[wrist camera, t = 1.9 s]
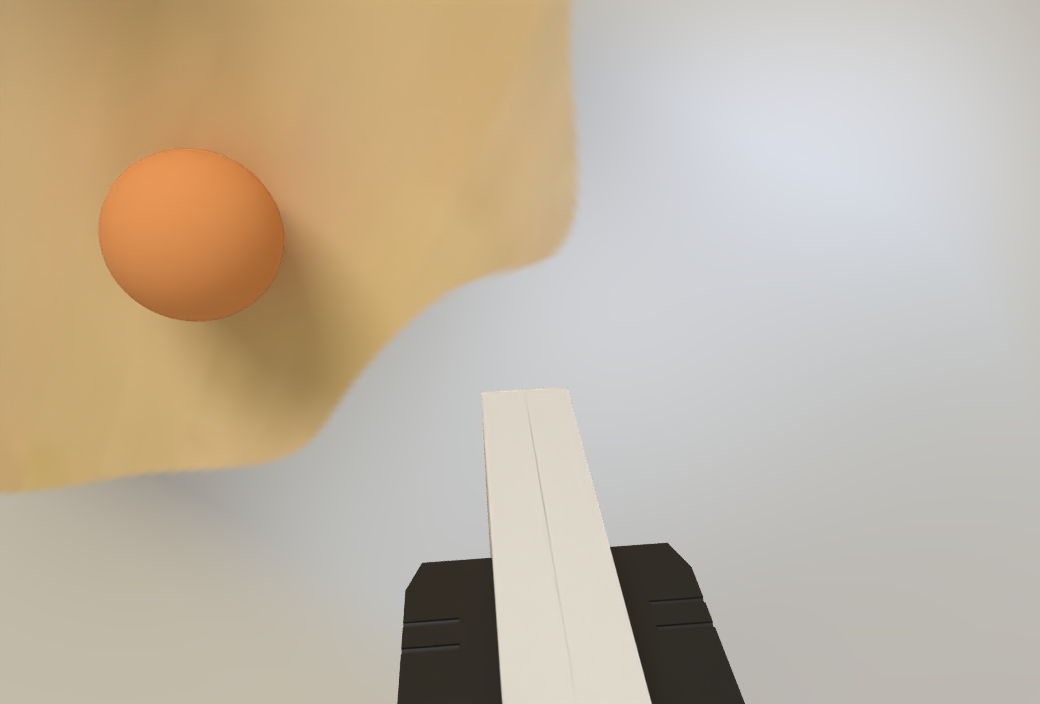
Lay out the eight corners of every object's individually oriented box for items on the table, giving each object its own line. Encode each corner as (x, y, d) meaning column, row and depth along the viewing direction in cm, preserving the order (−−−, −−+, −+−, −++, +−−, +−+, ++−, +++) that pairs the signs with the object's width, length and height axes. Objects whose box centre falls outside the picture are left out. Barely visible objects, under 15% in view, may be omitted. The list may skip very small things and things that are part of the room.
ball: (136, 269, 28) (71, 335, 23) (135, 117, 26) (62, 156, 21) (290, 294, 29) (259, 363, 24) (303, 149, 27) (271, 193, 22)
